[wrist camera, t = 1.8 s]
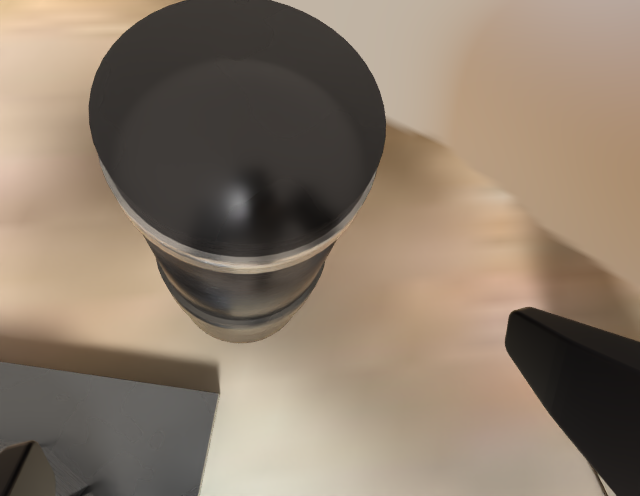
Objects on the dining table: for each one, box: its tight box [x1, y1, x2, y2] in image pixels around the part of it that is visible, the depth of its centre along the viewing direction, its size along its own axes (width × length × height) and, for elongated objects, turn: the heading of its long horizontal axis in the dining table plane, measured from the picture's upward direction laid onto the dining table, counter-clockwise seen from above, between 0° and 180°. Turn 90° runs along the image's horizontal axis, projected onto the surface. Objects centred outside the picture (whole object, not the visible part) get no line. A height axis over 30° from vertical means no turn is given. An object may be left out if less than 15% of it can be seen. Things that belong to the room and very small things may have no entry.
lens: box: [89, 0, 386, 343], centre depth 15 cm, size 6×6×13 cm
